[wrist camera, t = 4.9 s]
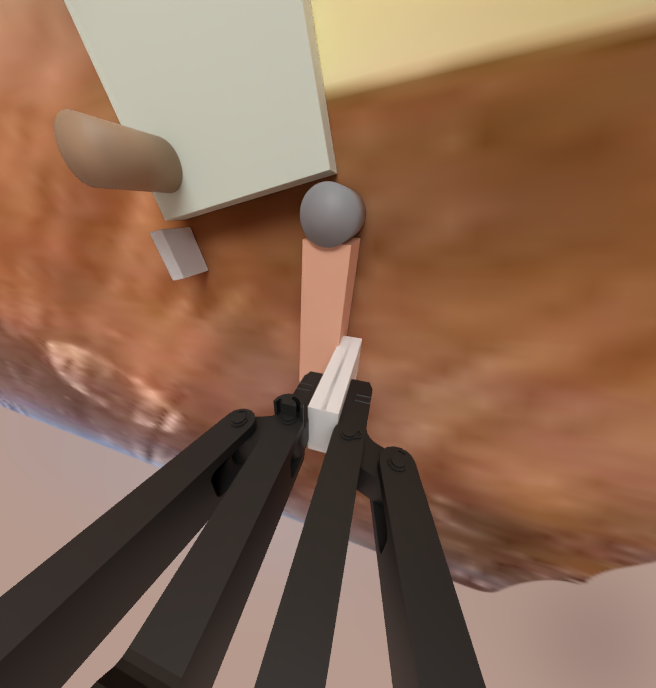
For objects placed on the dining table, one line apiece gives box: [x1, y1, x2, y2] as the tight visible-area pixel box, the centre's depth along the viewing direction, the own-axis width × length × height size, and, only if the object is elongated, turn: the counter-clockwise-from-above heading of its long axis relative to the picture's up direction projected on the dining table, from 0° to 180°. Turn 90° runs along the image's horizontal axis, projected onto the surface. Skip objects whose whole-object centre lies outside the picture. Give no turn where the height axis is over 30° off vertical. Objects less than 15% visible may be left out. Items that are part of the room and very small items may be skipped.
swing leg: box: [299, 181, 366, 382], centre depth 14 cm, size 11×3×4 cm, turn 175°
